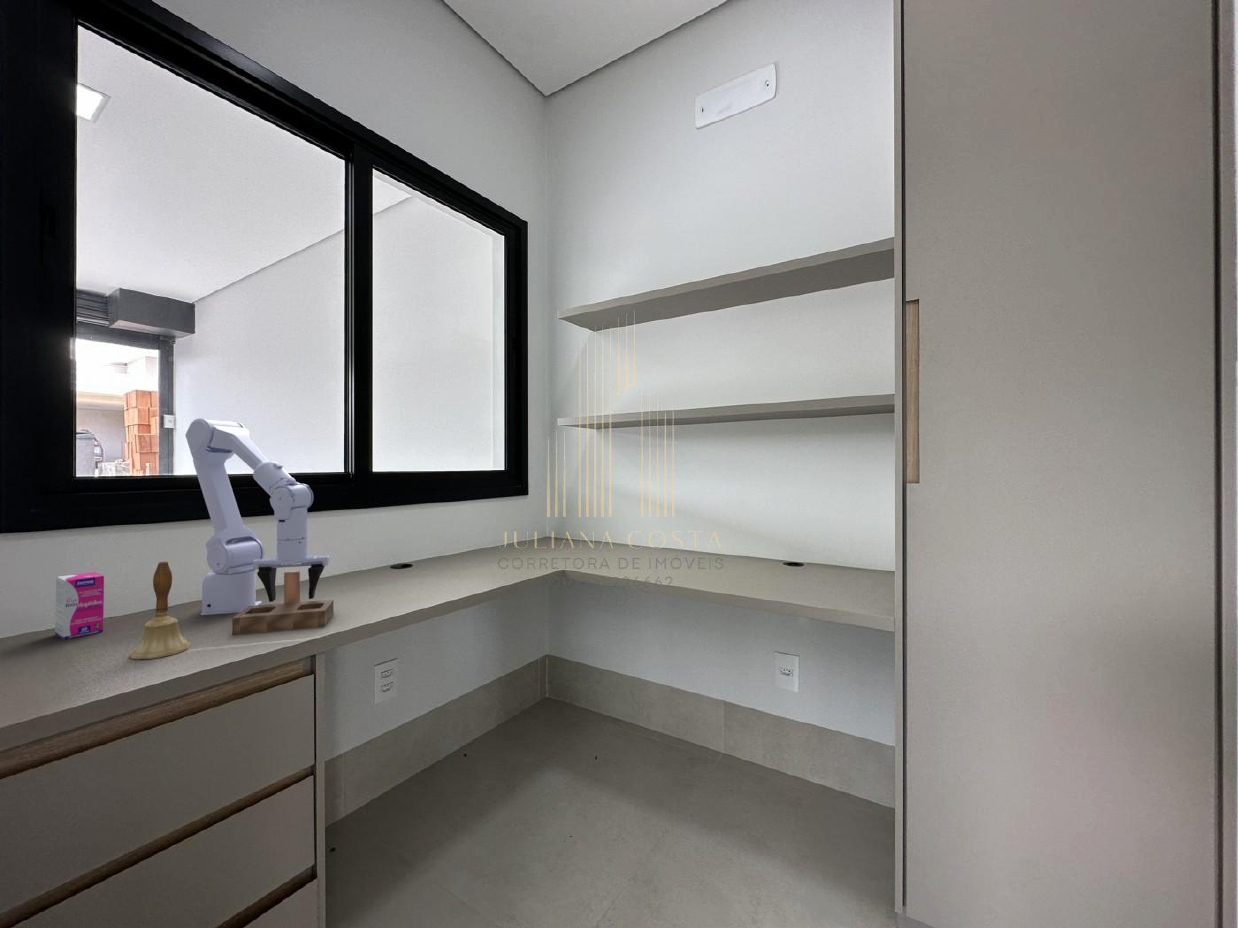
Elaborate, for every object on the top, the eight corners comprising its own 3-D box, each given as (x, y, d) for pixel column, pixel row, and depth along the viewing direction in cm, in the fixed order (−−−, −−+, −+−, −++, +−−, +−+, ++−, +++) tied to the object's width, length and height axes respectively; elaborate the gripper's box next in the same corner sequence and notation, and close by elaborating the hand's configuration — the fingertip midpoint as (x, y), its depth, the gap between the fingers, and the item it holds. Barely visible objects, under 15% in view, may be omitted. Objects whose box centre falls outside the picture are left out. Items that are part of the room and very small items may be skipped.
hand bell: (166, 641, 98) (166, 557, 98) (202, 644, 96) (202, 559, 96) (116, 658, 90) (116, 565, 90) (155, 661, 88) (155, 567, 88)
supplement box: (62, 640, 99) (62, 580, 99) (54, 634, 102) (54, 576, 102) (104, 632, 104) (104, 574, 104) (95, 627, 107) (95, 571, 107)
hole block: (232, 635, 101) (232, 617, 101) (248, 622, 110) (248, 605, 110) (325, 627, 107) (325, 610, 107) (333, 615, 115) (333, 599, 115)
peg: (282, 614, 114) (282, 573, 114) (286, 611, 117) (286, 571, 117) (298, 613, 115) (298, 572, 115) (301, 609, 118) (301, 570, 118)
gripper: (247, 542, 110) (247, 606, 110) (325, 539, 115) (325, 600, 115) (258, 538, 117) (258, 598, 117) (331, 535, 122) (331, 593, 122)
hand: (292, 599), depth 116 cm, fingers open, 7 cm apart
